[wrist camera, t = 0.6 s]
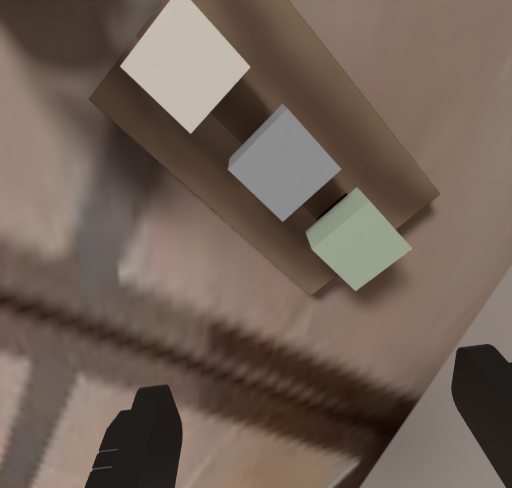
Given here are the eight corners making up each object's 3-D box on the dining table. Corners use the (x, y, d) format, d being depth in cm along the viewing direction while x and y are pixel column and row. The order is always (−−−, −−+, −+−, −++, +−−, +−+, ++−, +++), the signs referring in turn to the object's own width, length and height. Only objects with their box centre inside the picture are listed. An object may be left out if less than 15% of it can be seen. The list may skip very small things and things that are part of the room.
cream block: (194, 4, 23) (179, -13, 18) (249, 66, 24) (250, 67, 19) (146, 66, 24) (120, 66, 19) (201, 120, 26) (190, 133, 21)
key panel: (227, -66, 23) (224, -83, 21) (424, 183, 31) (440, 194, 29) (103, 96, 28) (88, 99, 25) (305, 278, 36) (310, 295, 33)
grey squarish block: (278, 99, 25) (287, 108, 20) (323, 149, 27) (341, 169, 22) (231, 149, 27) (227, 169, 22) (275, 194, 29) (282, 221, 24)
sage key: (347, 176, 28) (370, 201, 23) (383, 217, 30) (412, 248, 25) (300, 217, 30) (311, 249, 25) (337, 254, 31) (355, 291, 26)
